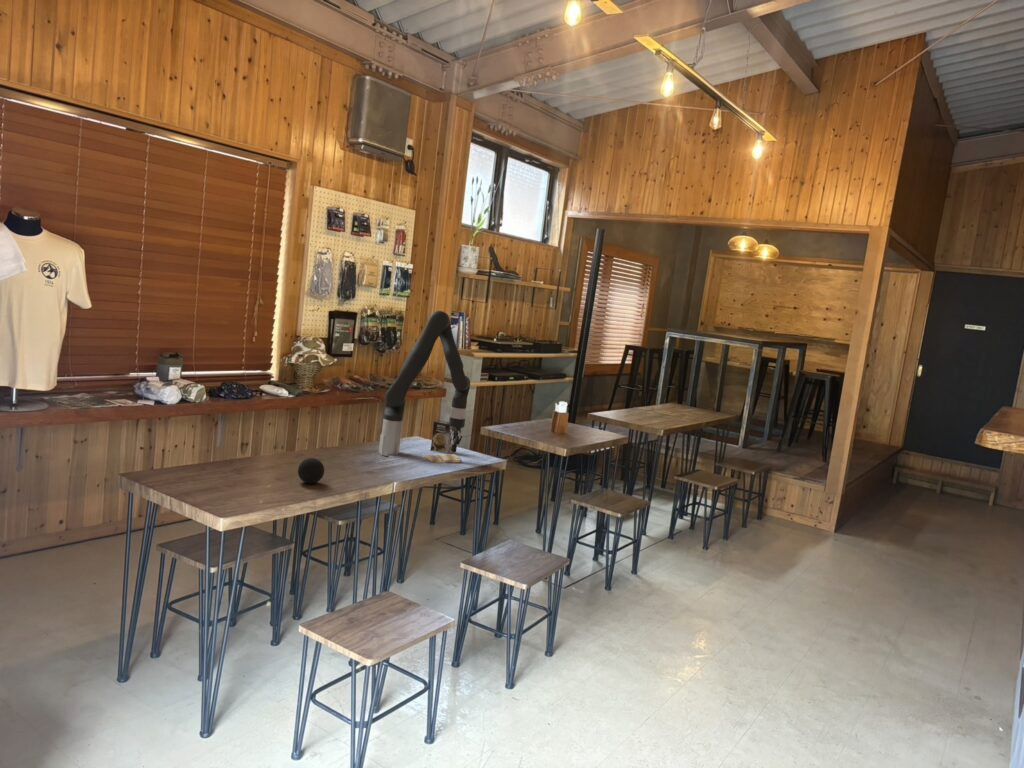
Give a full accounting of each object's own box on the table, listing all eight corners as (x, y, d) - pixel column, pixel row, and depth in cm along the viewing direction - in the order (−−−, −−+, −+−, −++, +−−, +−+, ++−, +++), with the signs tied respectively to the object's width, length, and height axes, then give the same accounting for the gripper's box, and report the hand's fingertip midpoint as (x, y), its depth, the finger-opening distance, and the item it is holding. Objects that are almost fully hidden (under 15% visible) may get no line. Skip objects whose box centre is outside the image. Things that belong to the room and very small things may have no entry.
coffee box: (429, 452, 367) (433, 421, 365) (434, 450, 373) (438, 419, 371) (446, 455, 364) (449, 424, 363) (451, 453, 370) (454, 422, 369)
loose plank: (443, 462, 344) (444, 460, 344) (436, 457, 354) (437, 454, 354) (461, 462, 347) (462, 459, 347) (454, 456, 357) (454, 454, 357)
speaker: (328, 484, 286) (330, 460, 285) (306, 487, 278) (308, 462, 277) (313, 478, 292) (315, 454, 291) (291, 481, 285) (293, 456, 284)
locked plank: (431, 463, 341) (431, 460, 341) (424, 457, 351) (424, 455, 351) (443, 463, 344) (443, 460, 344) (436, 457, 354) (436, 455, 354)
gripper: (446, 413, 353) (441, 448, 355) (454, 419, 341) (450, 455, 343) (460, 414, 356) (456, 449, 358) (469, 419, 344) (465, 455, 346)
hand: (453, 451), depth 351 cm, fingers closed
